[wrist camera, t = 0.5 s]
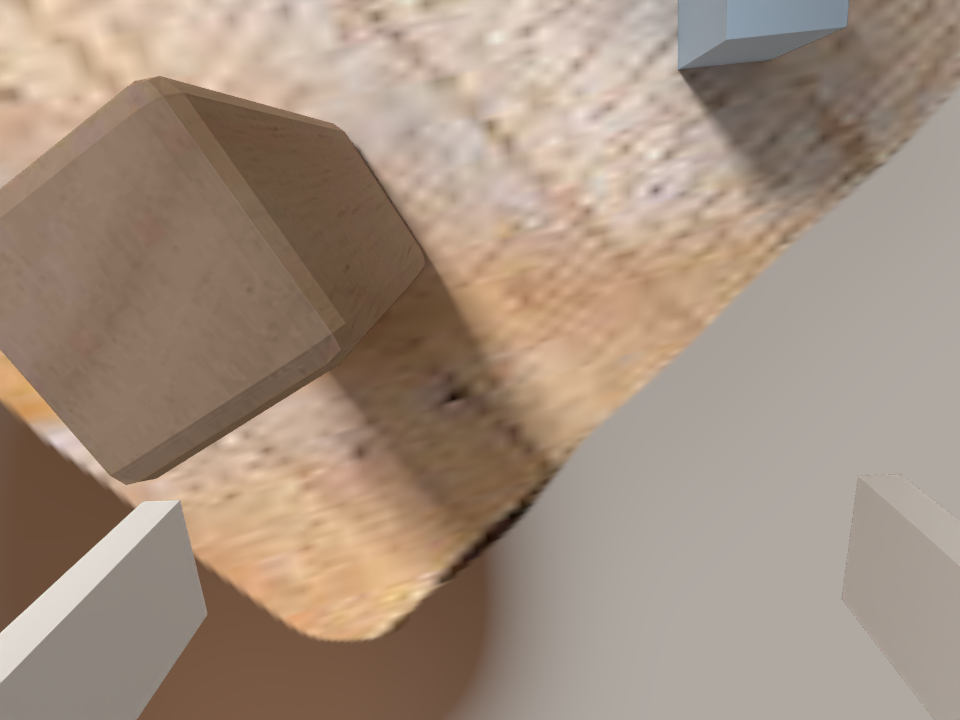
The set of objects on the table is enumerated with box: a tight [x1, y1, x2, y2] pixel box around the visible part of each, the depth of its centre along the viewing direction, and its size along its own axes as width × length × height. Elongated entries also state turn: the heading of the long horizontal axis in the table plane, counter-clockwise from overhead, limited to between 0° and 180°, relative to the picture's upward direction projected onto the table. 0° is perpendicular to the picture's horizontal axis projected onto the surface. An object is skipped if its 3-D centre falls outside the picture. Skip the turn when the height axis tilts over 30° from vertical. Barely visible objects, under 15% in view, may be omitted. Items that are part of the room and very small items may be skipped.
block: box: [0, 76, 425, 485], centre depth 28 cm, size 10×10×20 cm
